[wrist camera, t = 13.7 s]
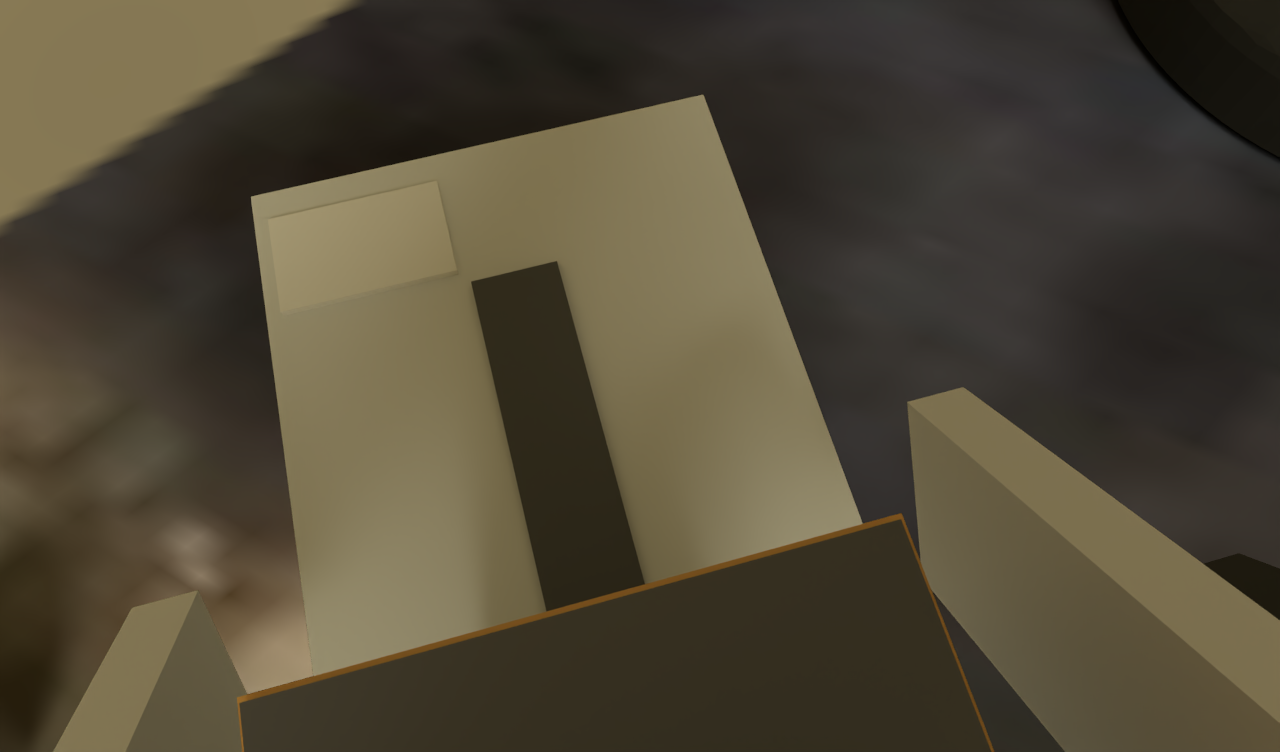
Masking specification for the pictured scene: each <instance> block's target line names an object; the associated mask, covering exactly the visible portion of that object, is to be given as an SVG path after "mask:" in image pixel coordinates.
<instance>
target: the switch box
mask: <svg viewBox="0 0 1280 752" xmlns="http://www.w3.org/2000/svg"><path fill="white" fill-rule="evenodd" d="M251 203H252V210H253V218H254V226H255V233H256V241H257V249H258V256H259V264H260V272H261V279H262V287H263V295H264V302H265V310H266V318H267V325H268V333H269V341H270V348H271V356H272V364H273V371H274V379H275V387H276V394H277V402H278V410H279V417H280V425H281V433H282V440H283V448H284V456H285V463H286V471H287V479H288V486H289V494H290V502H291V509H292V517H293V525H294V532H295V540H296V548H297V556H298V563H299V571H300V579H301V586H302V594H303V602H304V609H305V617H306V625H307V632H308V640H309V648H310V655H311V663H312V671H313V676H316V675H320V674H323V673H327V672H330V671H334V670H338V669H341V668H345V667H348V666H352V665H356V664H359V663H363V662H366V661H370V660H374V659H377V658H381V657H384V656H388V655H392V654H395V653H399V652H402V651H406V650H410V649H413V648H417V647H421V646H424V645H428V644H431V643H435V642H439V641H442V640H446V639H449V638H453V637H457V636H460V635H464V634H467V633H471V632H475V631H478V630H482V629H485V628H489V627H493V626H496V625H500V624H503V623H507V622H511V621H514V620H518V619H521V618H525V617H529V616H532V615H536V614H539V613H543V612H547V611H550V610H554V609H558V608H561V607H565V606H568V605H572V604H576V603H579V602H583V601H586V600H590V599H594V598H597V597H601V596H604V595H608V594H612V593H615V592H619V591H622V590H626V589H630V588H633V587H637V586H640V585H644V584H648V583H651V582H655V581H658V580H662V579H666V578H669V577H673V576H677V575H680V574H684V573H687V572H691V571H695V570H698V569H702V568H705V567H709V566H713V565H716V564H720V563H723V562H727V561H731V560H734V559H738V558H741V557H745V556H749V555H752V554H756V553H759V552H763V551H767V550H770V549H774V548H777V547H781V546H785V545H788V544H792V543H796V542H799V541H803V540H806V539H810V538H814V537H817V536H821V535H824V534H828V533H832V532H835V531H839V530H842V529H846V528H850V527H853V526H857V525H860V524H863V523H862V521H861V518H860V515H859V513H858V510H857V507H856V504H855V502H854V499H853V496H852V494H851V491H850V488H849V486H848V483H847V480H846V478H845V475H844V472H843V469H842V467H841V464H840V461H839V459H838V456H837V453H836V451H835V448H834V445H833V443H832V440H831V437H830V434H829V432H828V429H827V426H826V424H825V421H824V418H823V416H822V413H821V410H820V408H819V405H818V402H817V399H816V397H815V394H814V391H813V389H812V386H811V383H810V381H809V378H808V375H807V373H806V370H805V367H804V364H803V362H802V359H801V356H800V354H799V351H798V348H797V346H796V343H795V340H794V338H793V335H792V332H791V329H790V327H789V324H788V321H787V319H786V316H785V313H784V311H783V308H782V305H781V302H780V300H779V297H778V294H777V292H776V289H775V286H774V284H773V281H772V278H771V276H770V273H769V270H768V267H767V265H766V262H765V259H764V257H763V254H762V251H761V249H760V246H759V243H758V241H757V238H756V235H755V232H754V230H753V227H752V224H751V222H750V219H749V216H748V214H747V211H746V208H745V206H744V203H743V200H742V197H741V195H740V192H739V189H738V187H737V184H736V181H735V179H734V176H733V173H732V171H731V168H730V165H729V162H728V160H727V157H726V154H725V152H724V149H723V146H722V144H721V141H720V138H719V136H718V133H717V130H716V127H715V125H714V122H713V119H712V117H711V114H710V111H709V109H708V106H707V103H706V101H705V98H704V95H699V96H695V97H690V98H686V99H682V100H677V101H673V102H668V103H664V104H659V105H655V106H651V107H646V108H642V109H637V110H633V111H628V112H624V113H620V114H615V115H611V116H606V117H602V118H597V119H593V120H589V121H584V122H580V123H575V124H571V125H566V126H562V127H558V128H553V129H549V130H544V131H540V132H535V133H531V134H527V135H522V136H518V137H513V138H509V139H504V140H500V141H496V142H491V143H487V144H482V145H478V146H473V147H469V148H465V149H460V150H456V151H451V152H447V153H442V154H438V155H434V156H429V157H425V158H420V159H416V160H411V161H407V162H403V163H398V164H394V165H389V166H385V167H380V168H376V169H372V170H367V171H363V172H358V173H354V174H349V175H345V176H341V177H336V178H332V179H327V180H323V181H318V182H314V183H310V184H305V185H301V186H296V187H292V188H287V189H283V190H279V191H274V192H270V193H265V194H261V195H256V196H252V197H251Z"/></svg>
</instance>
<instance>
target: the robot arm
mask: <svg viewBox="0 0 1280 752" xmlns="http://www.w3.org/2000/svg"><path fill="white" fill-rule="evenodd" d="M1118 2H1119V4H1120V6H1121V8H1122V10H1123V12H1124V14H1125V16H1126V18H1127V19H1128V21H1129V23H1130V25H1131V27H1132V28H1133V30H1134V31H1135V33H1136V34H1137V36H1138V37H1139V39H1140V40H1141V42H1142V43H1143V45H1144V46H1145V47H1146V49H1147V50H1148V51H1149V52H1150V54H1151V55H1152V56H1153V58H1154V59H1155V60H1156V61H1157V63H1158V64H1159V65H1160V66H1161V67H1162V68H1163V69H1164V70H1165V72H1166V73H1167V74H1168V75H1169V76H1170V77H1171V78H1172V79H1173V80H1174V81H1175V82H1176V83H1177V84H1178V85H1179V86H1180V87H1181V88H1182V89H1183V90H1184V91H1185V92H1186V93H1187V94H1188V95H1190V96H1191V97H1192V98H1193V99H1194V100H1195V101H1196V102H1198V103H1199V104H1200V105H1201V106H1202V107H1203V108H1205V109H1206V110H1207V111H1208V112H1210V113H1211V114H1212V115H1214V116H1215V117H1216V118H1217V119H1219V120H1220V121H1221V122H1223V123H1224V124H1226V125H1227V126H1229V127H1230V128H1231V129H1233V130H1234V131H1236V132H1237V133H1239V134H1240V135H1242V136H1243V137H1245V138H1247V139H1248V140H1250V141H1251V142H1253V143H1255V144H1256V145H1258V146H1260V147H1261V148H1263V149H1265V150H1267V151H1269V152H1270V153H1272V154H1274V155H1276V156H1278V157H1280V0H1118ZM907 405H908V417H909V429H910V440H911V452H912V464H913V476H914V487H915V499H916V511H917V523H918V535H919V546H920V558H921V565H922V567H923V570H924V572H925V575H926V577H927V580H928V583H929V585H930V588H931V590H932V591H933V592H934V593H935V594H936V596H937V597H938V598H939V599H940V600H941V602H942V603H943V604H944V605H945V607H946V608H947V609H948V610H949V611H950V613H951V614H952V615H953V616H954V617H955V619H956V620H957V621H958V622H959V624H960V625H961V626H962V627H963V628H964V630H965V631H966V632H967V633H968V634H969V636H970V637H971V638H972V639H973V641H974V642H975V643H976V644H977V645H978V647H979V648H980V649H981V650H982V651H983V653H984V654H985V655H986V656H987V657H988V659H989V660H990V661H991V662H992V664H993V665H994V666H995V667H996V668H997V670H998V671H999V672H1000V673H1001V674H1002V676H1003V677H1004V678H1005V679H1006V681H1007V682H1008V683H1009V684H1010V685H1011V687H1012V688H1013V689H1014V690H1015V691H1016V693H1017V694H1018V695H1019V696H1020V698H1021V699H1022V700H1023V701H1024V702H1025V704H1026V705H1027V706H1028V707H1029V708H1030V710H1031V711H1032V712H1033V713H1034V714H1035V716H1036V717H1037V718H1038V719H1039V721H1040V722H1041V723H1042V724H1043V725H1044V727H1045V728H1046V729H1047V730H1048V731H1049V733H1050V734H1051V735H1052V736H1053V738H1054V739H1055V740H1056V741H1057V742H1058V744H1059V745H1060V746H1061V747H1062V748H1063V750H1064V751H1065V752H1280V569H1279V568H1276V567H1274V566H1271V565H1268V564H1266V563H1263V562H1260V561H1258V560H1255V559H1252V558H1250V557H1247V556H1245V555H1242V554H1235V555H1232V556H1228V557H1225V558H1222V559H1218V560H1215V561H1211V562H1208V563H1205V564H1202V563H1201V562H1200V561H1198V560H1197V559H1196V558H1194V557H1193V556H1192V555H1190V554H1189V553H1188V552H1186V551H1185V550H1183V549H1182V548H1181V547H1179V546H1178V545H1177V544H1175V543H1174V542H1173V541H1171V540H1170V539H1169V538H1167V537H1166V536H1164V535H1163V534H1162V533H1160V532H1159V531H1158V530H1156V529H1155V528H1154V527H1152V526H1151V525H1150V524H1148V523H1147V522H1145V521H1144V520H1143V519H1141V518H1140V517H1139V516H1137V515H1136V514H1135V513H1133V512H1132V511H1131V510H1129V509H1128V508H1126V507H1125V506H1124V505H1122V504H1121V503H1120V502H1118V501H1117V500H1116V499H1114V498H1113V497H1112V496H1110V495H1109V494H1107V493H1106V492H1105V491H1103V490H1102V489H1101V488H1099V487H1098V486H1097V485H1095V484H1094V483H1093V482H1091V481H1090V480H1088V479H1087V478H1086V477H1084V476H1083V475H1082V474H1080V473H1079V472H1078V471H1076V470H1075V469H1074V468H1072V467H1071V466H1069V465H1068V464H1067V463H1065V462H1064V461H1063V460H1061V459H1060V458H1059V457H1057V456H1056V455H1055V454H1053V453H1052V452H1050V451H1049V450H1048V449H1046V448H1045V447H1044V446H1042V445H1041V444H1040V443H1038V442H1037V441H1036V440H1034V439H1033V438H1031V437H1030V436H1029V435H1027V434H1026V433H1025V432H1023V431H1022V430H1021V429H1019V428H1018V427H1017V426H1015V425H1014V424H1012V423H1011V422H1010V421H1008V420H1007V419H1006V418H1004V417H1003V416H1002V415H1000V414H999V413H998V412H996V411H995V410H994V409H992V408H991V407H989V406H988V405H987V404H985V403H984V402H983V401H981V400H980V399H979V398H977V397H976V396H975V395H973V394H972V393H970V392H969V391H968V390H966V389H965V388H964V387H962V388H959V389H955V390H951V391H947V392H944V393H940V394H936V395H932V396H928V397H925V398H921V399H917V400H913V401H910V402H907ZM244 695H247V693H246V691H245V689H244V686H243V684H242V682H241V680H240V678H239V676H238V674H237V672H236V669H235V667H234V665H233V663H232V661H231V659H230V657H229V655H228V652H227V650H226V648H225V646H224V644H223V642H222V640H221V638H220V635H219V633H218V631H217V629H216V627H215V625H214V623H213V621H212V618H211V616H210V614H209V612H208V610H207V608H206V606H205V604H204V601H203V599H202V597H201V595H200V593H199V591H198V590H197V591H193V592H189V593H186V594H182V595H178V596H174V597H170V598H167V599H163V600H159V601H155V602H152V603H148V604H144V605H140V606H136V607H133V608H132V609H131V611H130V612H129V614H128V616H127V618H126V620H125V621H124V623H123V625H122V627H121V629H120V631H119V632H118V634H117V636H116V638H115V640H114V642H113V643H112V645H111V647H110V649H109V651H108V653H107V654H106V656H105V658H104V660H103V662H102V663H101V665H100V667H99V669H98V671H97V673H96V674H95V676H94V678H93V680H92V682H91V684H90V685H89V687H88V689H87V691H86V693H85V694H84V696H83V698H82V700H81V702H80V704H79V705H78V707H77V709H76V711H75V713H74V715H73V716H72V718H71V720H70V722H69V724H68V725H67V727H66V729H65V731H64V733H63V735H62V736H61V738H60V740H59V742H58V744H57V746H56V747H55V749H54V751H53V752H242V746H241V736H240V726H239V715H238V705H237V697H240V696H244Z"/></svg>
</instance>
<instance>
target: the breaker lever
mask: <svg viewBox="0 0 1280 752" xmlns="http://www.w3.org/2000/svg"><path fill="white" fill-rule="evenodd" d="M237 705H238V715H239V726H240V736H241V746H242V752H994V749H993V747H992V744H991V742H990V739H989V737H988V734H987V731H986V729H985V726H984V724H983V721H982V719H981V716H980V713H979V711H978V708H977V706H976V703H975V701H974V698H973V695H972V693H971V690H970V688H969V685H968V683H967V680H966V678H965V675H964V672H963V670H962V667H961V665H960V662H959V660H958V657H957V654H956V652H955V649H954V647H953V644H952V642H951V639H950V636H949V634H948V631H947V629H946V626H945V624H944V621H943V618H942V616H941V613H940V611H939V608H938V606H937V603H936V600H935V598H934V595H933V593H932V590H931V588H930V585H929V583H928V580H927V577H926V575H925V572H924V570H923V567H922V565H921V562H920V559H919V557H918V554H917V552H916V549H915V547H914V544H913V541H912V539H911V536H910V534H909V531H908V529H907V526H906V523H905V521H904V518H903V516H902V513H900V514H896V515H893V516H889V517H886V518H882V519H878V520H875V521H871V522H868V523H864V524H860V525H857V526H853V527H850V528H846V529H842V530H839V531H835V532H832V533H828V534H824V535H821V536H817V537H814V538H810V539H806V540H803V541H799V542H796V543H792V544H788V545H785V546H781V547H777V548H774V549H770V550H767V551H763V552H759V553H756V554H752V555H749V556H745V557H741V558H738V559H734V560H731V561H727V562H723V563H720V564H716V565H713V566H709V567H705V568H702V569H698V570H695V571H691V572H687V573H684V574H680V575H677V576H673V577H669V578H666V579H662V580H658V581H655V582H651V583H648V584H644V585H640V586H637V587H633V588H630V589H626V590H622V591H619V592H615V593H612V594H608V595H604V596H601V597H597V598H594V599H590V600H586V601H583V602H579V603H576V604H572V605H568V606H565V607H561V608H558V609H554V610H550V611H547V612H543V613H539V614H536V615H532V616H529V617H525V618H521V619H518V620H514V621H511V622H507V623H503V624H500V625H496V626H493V627H489V628H485V629H482V630H478V631H475V632H471V633H467V634H464V635H460V636H457V637H453V638H449V639H446V640H442V641H439V642H435V643H431V644H428V645H424V646H421V647H417V648H413V649H410V650H406V651H402V652H399V653H395V654H392V655H388V656H384V657H381V658H377V659H374V660H370V661H366V662H363V663H359V664H356V665H352V666H348V667H345V668H341V669H338V670H334V671H330V672H327V673H323V674H320V675H316V676H312V677H309V678H305V679H302V680H298V681H294V682H291V683H287V684H283V685H280V686H276V687H273V688H269V689H265V690H262V691H258V692H255V693H251V694H247V695H244V696H240V697H237Z"/></svg>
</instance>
